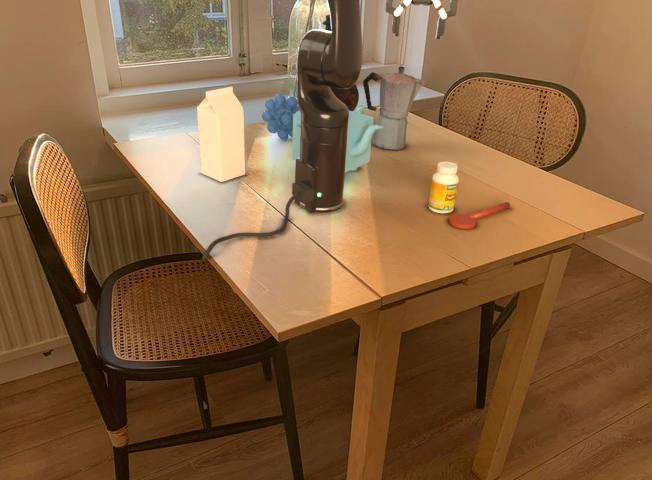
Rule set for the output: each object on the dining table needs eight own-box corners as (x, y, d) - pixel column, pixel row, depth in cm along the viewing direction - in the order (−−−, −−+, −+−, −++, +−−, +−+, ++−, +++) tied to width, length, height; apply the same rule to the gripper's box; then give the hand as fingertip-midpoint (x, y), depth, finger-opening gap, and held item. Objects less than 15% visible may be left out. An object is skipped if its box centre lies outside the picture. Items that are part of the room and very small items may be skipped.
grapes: (265, 145, 150) (265, 98, 143) (260, 137, 155) (260, 91, 149) (309, 143, 153) (310, 97, 146) (303, 135, 158) (304, 90, 152)
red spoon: (498, 203, 125) (500, 197, 124) (518, 212, 122) (519, 206, 121) (443, 221, 117) (444, 214, 116) (462, 231, 113) (464, 224, 112)
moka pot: (418, 152, 150) (429, 72, 140) (358, 149, 150) (365, 69, 139) (414, 140, 158) (424, 63, 148) (357, 137, 158) (363, 60, 147)
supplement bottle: (437, 201, 125) (444, 158, 120) (458, 209, 122) (466, 165, 116) (422, 207, 122) (429, 164, 116) (443, 216, 118) (451, 171, 113)
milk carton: (245, 175, 133) (243, 89, 123) (221, 183, 128) (216, 95, 118) (225, 166, 137) (221, 83, 127) (201, 173, 132) (195, 88, 122)
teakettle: (289, 154, 145) (290, 94, 137) (363, 154, 147) (369, 95, 139) (295, 184, 129) (296, 118, 121) (378, 184, 131) (384, 119, 123)
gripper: (391, -54, 110) (383, 38, 118) (468, -51, 109) (453, 42, 118) (390, -56, 116) (382, 32, 125) (462, -52, 115) (449, 36, 124)
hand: (417, 37), depth 121 cm, fingers open, 8 cm apart
